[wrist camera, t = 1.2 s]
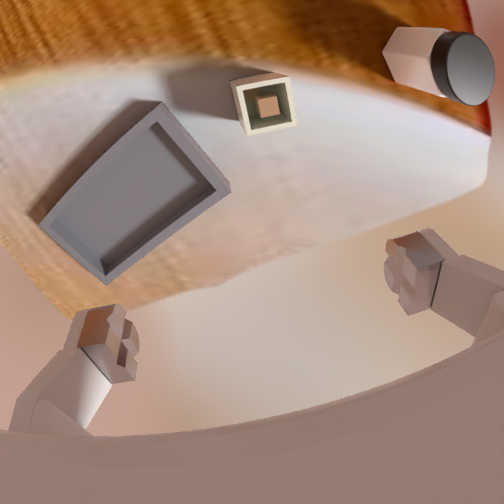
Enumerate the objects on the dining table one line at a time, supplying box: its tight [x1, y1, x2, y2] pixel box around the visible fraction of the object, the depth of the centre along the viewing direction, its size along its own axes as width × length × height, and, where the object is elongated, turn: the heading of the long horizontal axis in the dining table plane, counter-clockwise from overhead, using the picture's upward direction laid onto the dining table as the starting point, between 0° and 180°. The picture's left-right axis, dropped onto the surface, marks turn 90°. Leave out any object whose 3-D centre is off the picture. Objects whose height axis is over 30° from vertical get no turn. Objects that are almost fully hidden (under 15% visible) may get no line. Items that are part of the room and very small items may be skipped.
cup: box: [230, 72, 298, 136], centre depth 30 cm, size 5×5×8 cm
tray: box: [38, 102, 231, 286], centre depth 37 cm, size 13×22×3 cm, turn 123°
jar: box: [382, 27, 495, 106], centre depth 26 cm, size 9×8×12 cm
